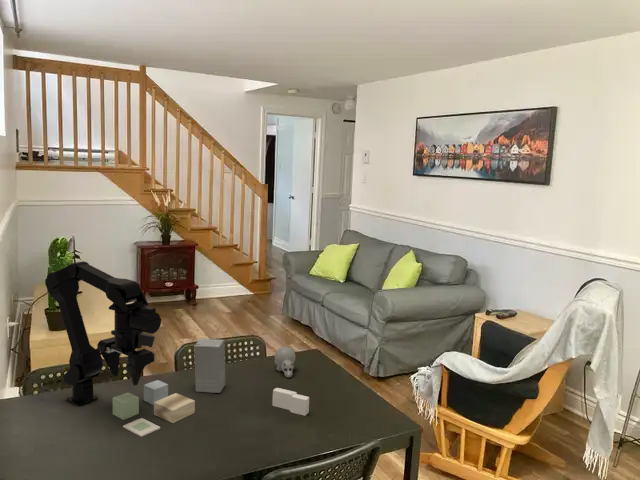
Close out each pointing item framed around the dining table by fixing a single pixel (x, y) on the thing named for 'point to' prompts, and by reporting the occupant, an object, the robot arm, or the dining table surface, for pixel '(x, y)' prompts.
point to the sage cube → (125, 405)
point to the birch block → (174, 407)
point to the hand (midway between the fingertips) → (125, 380)
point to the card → (141, 427)
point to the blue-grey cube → (155, 391)
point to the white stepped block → (291, 401)
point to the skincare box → (209, 365)
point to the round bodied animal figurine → (285, 360)
